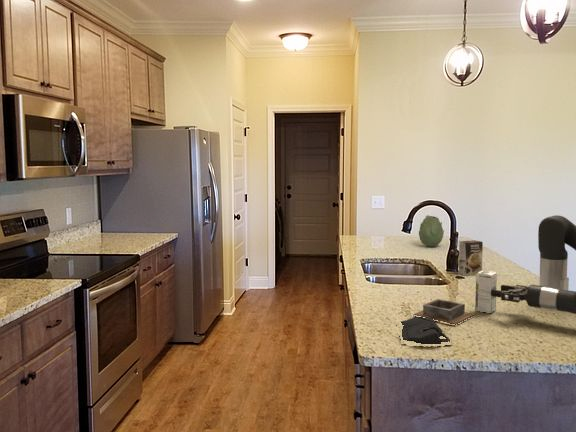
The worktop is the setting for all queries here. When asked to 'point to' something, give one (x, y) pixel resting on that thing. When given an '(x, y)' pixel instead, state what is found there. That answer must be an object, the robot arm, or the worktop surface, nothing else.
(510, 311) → the worktop surface
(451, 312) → the socket board
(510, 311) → the worktop surface
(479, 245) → the coffee box
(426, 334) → the dark slate chunk
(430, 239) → the cabbage
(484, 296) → the syrup box
